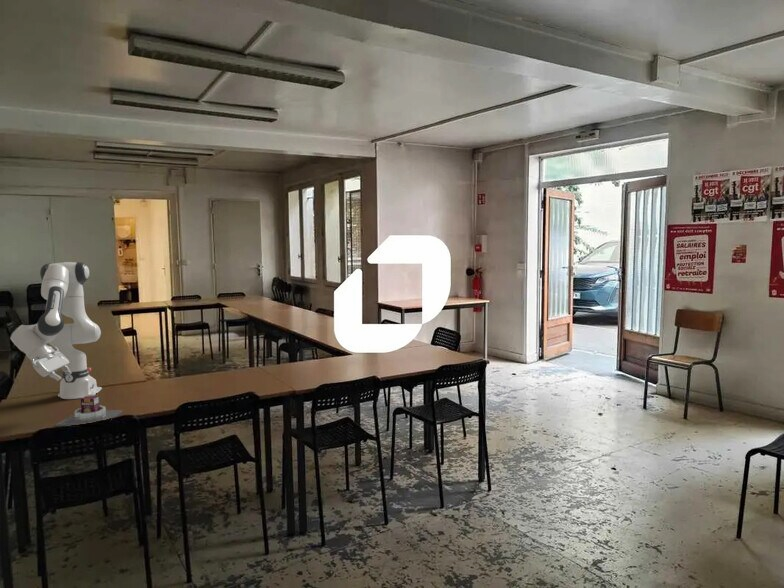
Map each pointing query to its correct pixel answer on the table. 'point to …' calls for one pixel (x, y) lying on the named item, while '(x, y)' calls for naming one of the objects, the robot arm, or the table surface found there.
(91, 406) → the supplement box
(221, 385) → the table surface
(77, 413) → the duct collar
